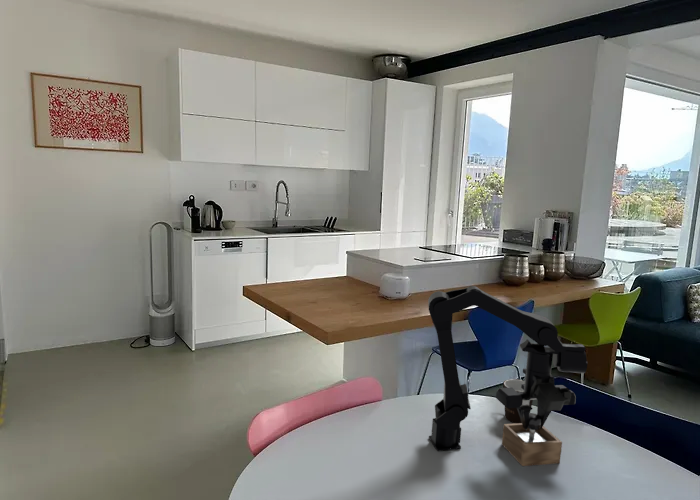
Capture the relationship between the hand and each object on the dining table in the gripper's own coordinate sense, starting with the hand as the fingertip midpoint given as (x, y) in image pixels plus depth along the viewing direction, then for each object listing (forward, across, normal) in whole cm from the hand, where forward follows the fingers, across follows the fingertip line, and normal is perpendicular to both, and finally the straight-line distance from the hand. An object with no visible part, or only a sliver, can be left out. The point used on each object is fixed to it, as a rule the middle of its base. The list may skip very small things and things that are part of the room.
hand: (532, 428), depth 124 cm
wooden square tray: (+7, 0, 0) cm, 7 cm away
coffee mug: (+7, +7, +19) cm, 21 cm away
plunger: (+3, 0, 0) cm, 3 cm away
